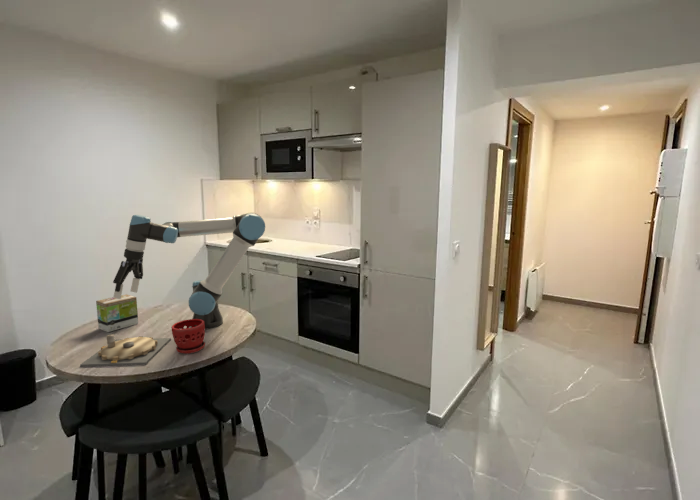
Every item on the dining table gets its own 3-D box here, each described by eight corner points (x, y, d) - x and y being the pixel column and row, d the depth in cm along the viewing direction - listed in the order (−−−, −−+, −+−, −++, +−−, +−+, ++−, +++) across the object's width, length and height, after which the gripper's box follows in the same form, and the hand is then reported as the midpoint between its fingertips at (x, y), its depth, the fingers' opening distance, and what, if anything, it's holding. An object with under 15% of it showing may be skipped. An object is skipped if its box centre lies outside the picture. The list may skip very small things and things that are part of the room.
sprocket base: (170, 340, 176) (170, 336, 176) (146, 364, 152) (145, 360, 151) (114, 341, 174) (114, 338, 174) (80, 366, 150) (79, 363, 150)
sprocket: (165, 338, 174) (164, 325, 173) (143, 360, 153) (142, 344, 152) (116, 340, 173) (114, 326, 172) (86, 361, 151) (84, 346, 150)
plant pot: (200, 341, 175) (198, 316, 173) (210, 350, 165) (208, 324, 163) (170, 348, 167) (167, 322, 165) (178, 359, 157) (176, 331, 155)
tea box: (108, 333, 185) (105, 303, 183) (98, 329, 190) (94, 300, 188) (139, 323, 198) (136, 296, 195) (128, 320, 203) (126, 293, 201)
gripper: (140, 245, 183) (132, 287, 184) (109, 250, 158) (100, 299, 160) (156, 248, 183) (147, 291, 185) (127, 254, 158) (118, 303, 160)
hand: (125, 295), depth 172 cm, fingers open, 13 cm apart
